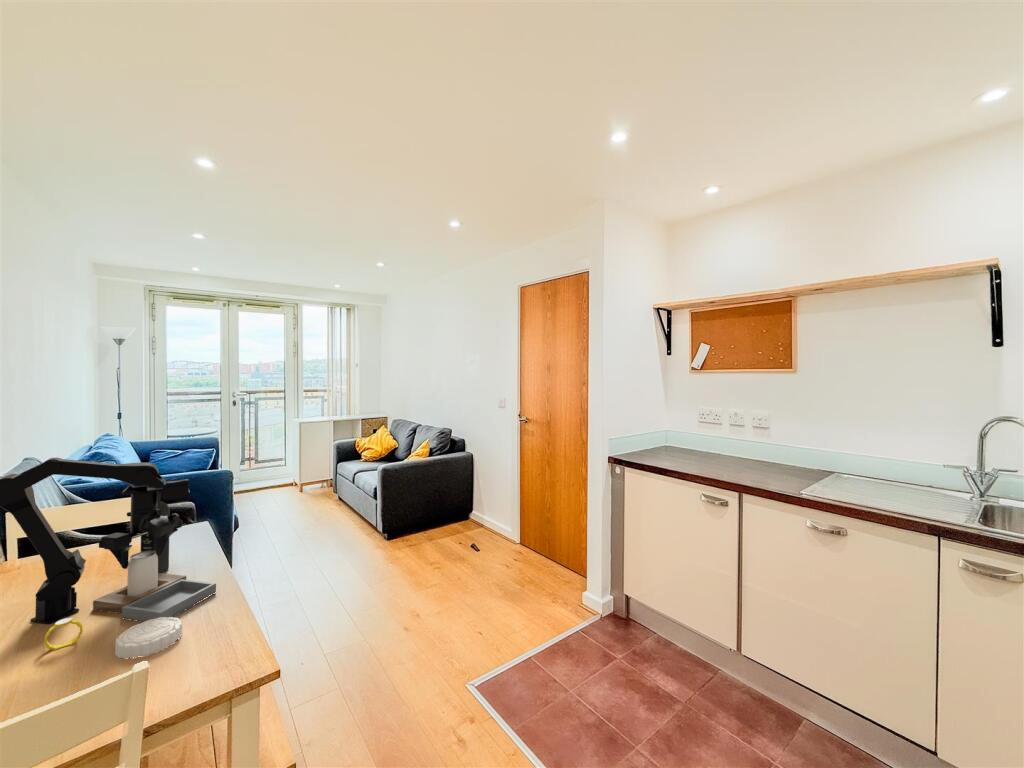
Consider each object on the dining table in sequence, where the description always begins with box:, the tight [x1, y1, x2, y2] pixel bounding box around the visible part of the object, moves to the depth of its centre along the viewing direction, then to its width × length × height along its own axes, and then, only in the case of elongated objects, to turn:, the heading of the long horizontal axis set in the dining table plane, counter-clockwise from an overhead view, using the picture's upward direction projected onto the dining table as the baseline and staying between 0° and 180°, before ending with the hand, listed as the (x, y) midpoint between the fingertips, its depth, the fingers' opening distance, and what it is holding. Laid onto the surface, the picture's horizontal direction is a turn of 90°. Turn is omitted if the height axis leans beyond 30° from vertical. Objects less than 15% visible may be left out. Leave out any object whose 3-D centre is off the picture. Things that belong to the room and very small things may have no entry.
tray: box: [121, 579, 217, 623], centre depth 114 cm, size 16×12×3 cm
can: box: [127, 551, 158, 597], centre depth 119 cm, size 6×6×12 cm
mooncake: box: [114, 616, 183, 660], centre depth 98 cm, size 12×12×4 cm
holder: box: [92, 572, 187, 614], centre depth 119 cm, size 17×11×2 cm, turn 170°
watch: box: [43, 617, 84, 651], centre depth 96 cm, size 6×3×6 cm, turn 137°
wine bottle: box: [140, 486, 171, 573], centre depth 134 cm, size 6×6×30 cm
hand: (142, 561), depth 119 cm, fingers open, 9 cm apart
